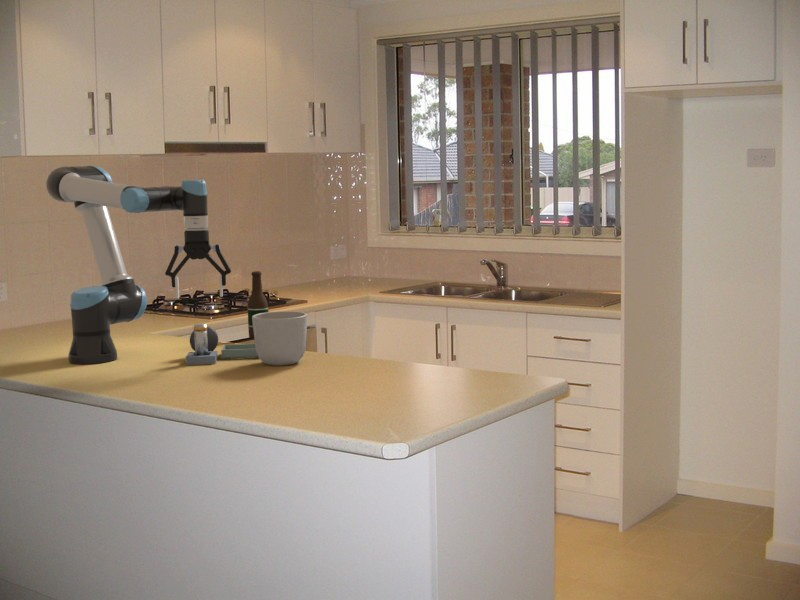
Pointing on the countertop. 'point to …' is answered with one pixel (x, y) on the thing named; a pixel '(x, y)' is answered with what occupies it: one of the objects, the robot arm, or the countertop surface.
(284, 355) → the planter
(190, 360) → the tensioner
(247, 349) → the tray
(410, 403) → the countertop surface
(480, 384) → the countertop surface
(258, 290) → the beer bottle
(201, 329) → the pin
